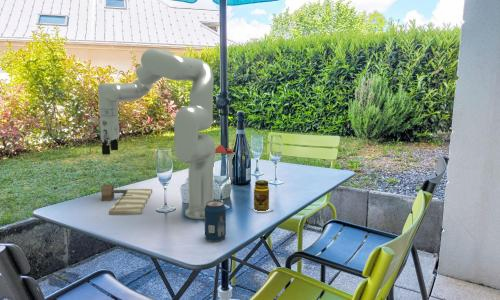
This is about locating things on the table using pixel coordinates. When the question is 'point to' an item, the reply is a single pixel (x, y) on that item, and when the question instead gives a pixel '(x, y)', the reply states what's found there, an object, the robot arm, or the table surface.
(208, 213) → the soda can
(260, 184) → the condiment
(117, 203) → the wooden slatted rack
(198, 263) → the table surface
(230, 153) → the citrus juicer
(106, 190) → the marking gauge
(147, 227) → the table surface
